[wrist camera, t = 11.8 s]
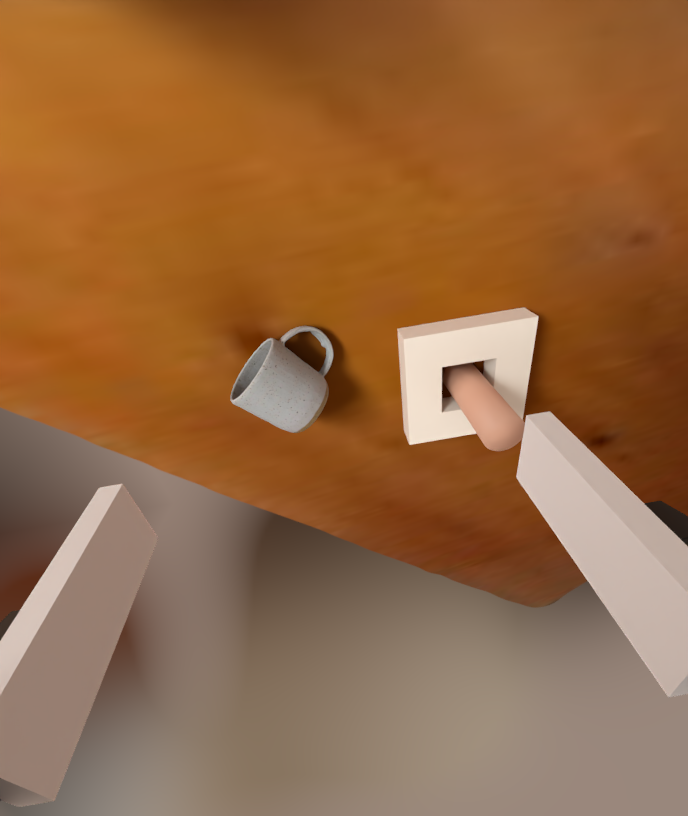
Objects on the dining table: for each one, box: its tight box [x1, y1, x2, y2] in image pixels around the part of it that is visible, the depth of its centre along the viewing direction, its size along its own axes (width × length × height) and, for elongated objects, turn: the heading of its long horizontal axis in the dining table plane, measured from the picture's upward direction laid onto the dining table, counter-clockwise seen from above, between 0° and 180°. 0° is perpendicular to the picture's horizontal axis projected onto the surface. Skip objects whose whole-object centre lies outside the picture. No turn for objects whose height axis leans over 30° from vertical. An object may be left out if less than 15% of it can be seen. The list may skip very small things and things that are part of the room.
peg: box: [442, 362, 525, 451], centre depth 39 cm, size 4×4×12 cm
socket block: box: [397, 307, 539, 445], centre depth 43 cm, size 14×14×3 cm
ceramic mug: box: [231, 326, 333, 433], centre depth 38 cm, size 11×8×8 cm
